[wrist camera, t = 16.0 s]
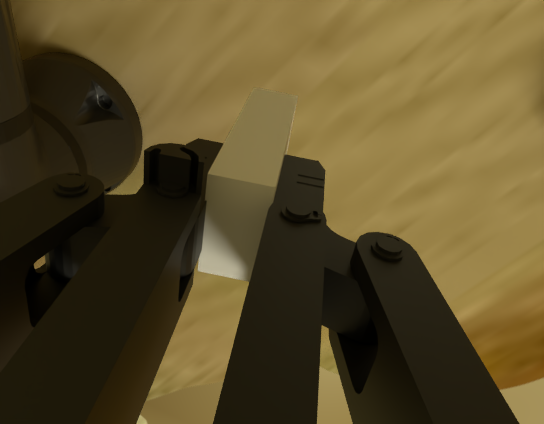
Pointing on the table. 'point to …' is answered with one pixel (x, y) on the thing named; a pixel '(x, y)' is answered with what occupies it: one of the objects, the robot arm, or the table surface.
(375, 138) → the table surface
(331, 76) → the table surface
